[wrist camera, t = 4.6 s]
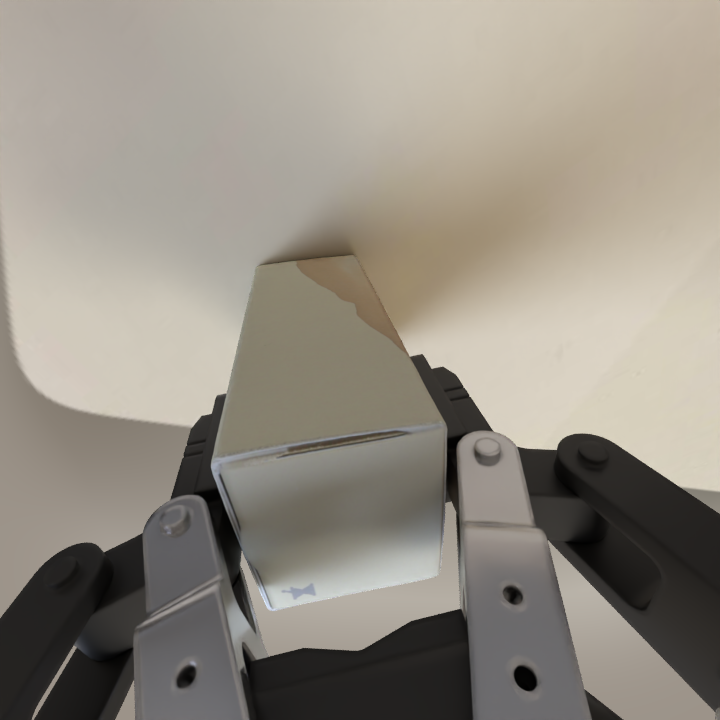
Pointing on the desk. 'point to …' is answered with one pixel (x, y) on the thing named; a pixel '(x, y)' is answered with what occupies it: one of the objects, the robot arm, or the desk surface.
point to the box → (328, 440)
